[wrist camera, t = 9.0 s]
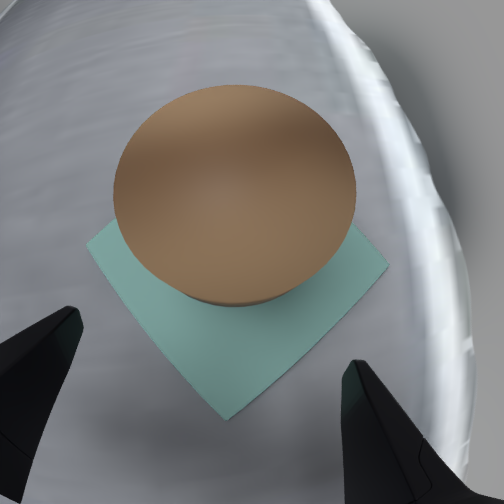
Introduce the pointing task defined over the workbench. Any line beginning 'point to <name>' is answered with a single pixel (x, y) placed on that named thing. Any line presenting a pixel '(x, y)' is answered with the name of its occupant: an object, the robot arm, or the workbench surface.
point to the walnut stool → (234, 194)
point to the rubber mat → (238, 319)
